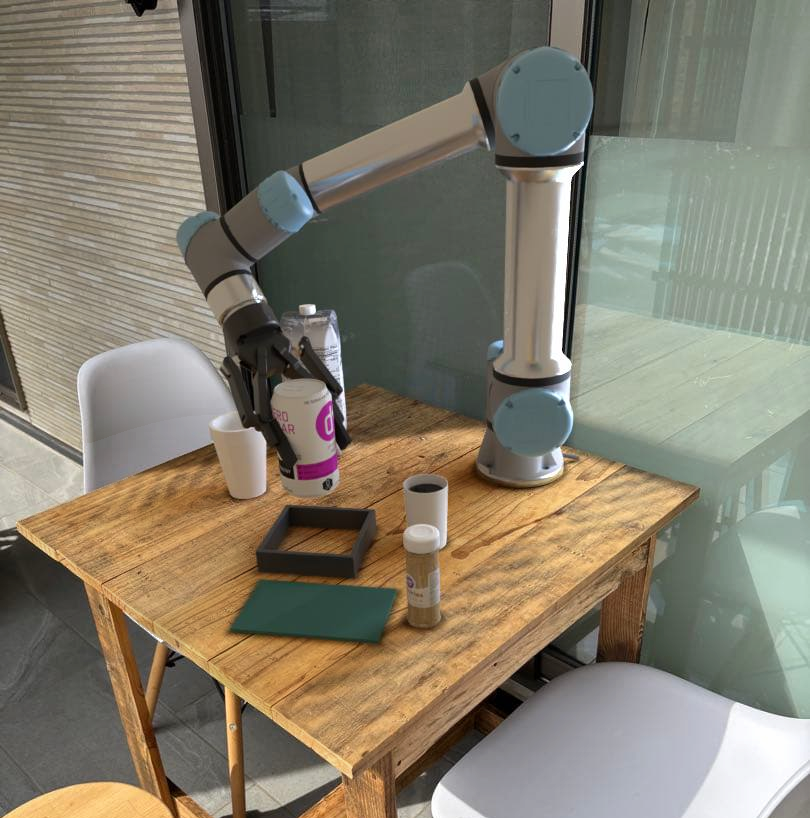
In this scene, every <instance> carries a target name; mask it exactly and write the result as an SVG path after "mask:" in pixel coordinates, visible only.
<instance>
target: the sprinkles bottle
mask: <svg viewBox="0 0 810 818" xmlns="http://www.w3.org/2000/svg"><path fill="white" fill-rule="evenodd" d="M402 543H403V544H402V545H403V548H404V551H405V554H404V555H405V586H406V587H405V589H406V592H405V593H406V602H407V615H406V619H407V622H408V623H409V625H411V626H412V627H413V628H417V629H430V628H433V627H435V626H436V625H438V624H439V623H440V622H441V619H442V616H441V615H442V614H441V578H440V575H441V573H440V572H441V571H440V569H441V568H440V557H439V556H440V555H439V550H440V549H439V545H440V536H439V531H438V529H437V528H435V527H434V526H431V525H427V524H417V525H413V526H410V527H408V528H407V527H406V529H405V530H404V531H403V534H402Z"/></svg>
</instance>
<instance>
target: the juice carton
mask: <svg viewBox="0 0 810 818" xmlns="http://www.w3.org/2000/svg"><path fill="white" fill-rule="evenodd" d="M298 310H299V311H290V310H289V311H285V312H283V314H282V315H281V318H280V321H278V322H279V324H280V326H281V330H282V333H283V334H284V335H285V336H286V337H287V338H288V339H289V340H290V341H295V340H301V338H302V337H303V336H306V337H308V338H309V340H310V343H311V346H312V348H313V350H314V352H315V353H316V354H317V355H318V357H319V358H320V359H321V361H322V362H323V363H324V365H325V366H326V367H327V368H328V370H329V371H330V372H331V374H332V375H333V376H334V377H335V379H336V380H337V381H338V383H339V384H340V385H341V387H342V388H343V392H342V393H341V395H340V396H339V397H338V399H337V400H336V403H337V405H338V407H339V409H340V410H341V412H342V414H343V416H344V422H343V425H344V427H345V429H346V430H347V428H348V427H347V426H348V425H347V424H348V423H347V422H348V421H347V407H346V396H345V383H344V373H343V360H342V359H343V358H342V349H341V338H340V330H339V324H338V323H339V322H338V317H337V313H336V311H335V310H333V309H323V310H317V309H316V304H311V303H308V304H300V305H299V306H298ZM291 354H292V355H293V356H294V357H295V358H296V359H297V360H298V361H299V363H300V365H301V366H302V367H303V368H304V369H306V370H307V368H306V367H305V366H304V364H303V363H302V361H301V360H300V357H297V356H296V354H295V352H294V351H292V350H291ZM289 366H290V365H288V366H287V367H288V368H289ZM307 371H308V370H307ZM308 372H309V371H308ZM309 373H310V372H309ZM310 374H311V373H310ZM281 379H282V380H281V381H282V382H281V383H283V382H285V381H290V380H291V379H290V378H286V377H285V376H284V375H282V374H281ZM336 449H337V457H339V456H341V455H342V452H343V450H342V451H341V450H340V448H339V446H338V445H337V443H336Z"/></svg>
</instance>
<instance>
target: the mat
mask: <svg viewBox="0 0 810 818" xmlns="http://www.w3.org/2000/svg"><path fill="white" fill-rule="evenodd" d="M397 593H398V589H397V588H393V587H392V588H390V587H380V586H379V587H378V586H376V587H375V586H362V585H349V584H348V585H347V584H335V583H334V584H333V583H317V582H304V581H303V582H302V581H289V580H276V579H259V581H258V582H257V584H256V586H255V587H254V589H253V591H252V592H251V594H250V595H249V597H248V599H247V600H246V602H245V604H244V605H243V607H242V609H241V610H240V612H239V614H237V617H236V618H235V620H234V622H233V623H232V625H231V626H230V628H229V629H230V630H229V631H230V633H237V634H250V635H261V636H262V635H263V636H274V637H275V636H277V637H288V638H300V639H301V638H302V639H312V640H324V641H325V640H326V641H337V642H349V643H363V644H374V645H379V644H380V641H381V639H382V637H383V633H384V631H385V628H386V625H387V622H388V619H389V616H390V614H391V610H392V607H393V605H394V602H395V599H396V596H397Z"/></svg>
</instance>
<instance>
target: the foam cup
mask: <svg viewBox="0 0 810 818" xmlns="http://www.w3.org/2000/svg"><path fill="white" fill-rule="evenodd" d="M253 411H254V414H255V410H253ZM208 430H209V436H210V440H212V442H213V444H214V448H215V452H216V454H217V458H218V462H219V464H220V467H221V470H222V474H223V476H224V479H225V483H226V486H227V490H228V492H229V495H230V496H232V498H234V499H239V500H249V499H255V498H257V497H260V496H263V494H264V493H265V492H267V442H266V440H265V438H264V437H263V435H262V433H261V432H258V431H256V430H255V428H254V427H250V428H249V429H245V428H244V427H243V426H242V423H241V420H240V417H239V414H238V411H237V410H234V411H229V412H224V413H221V414H219V415H216V416H215V417H213V418H212V419H210V420H209V425H208Z"/></svg>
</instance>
